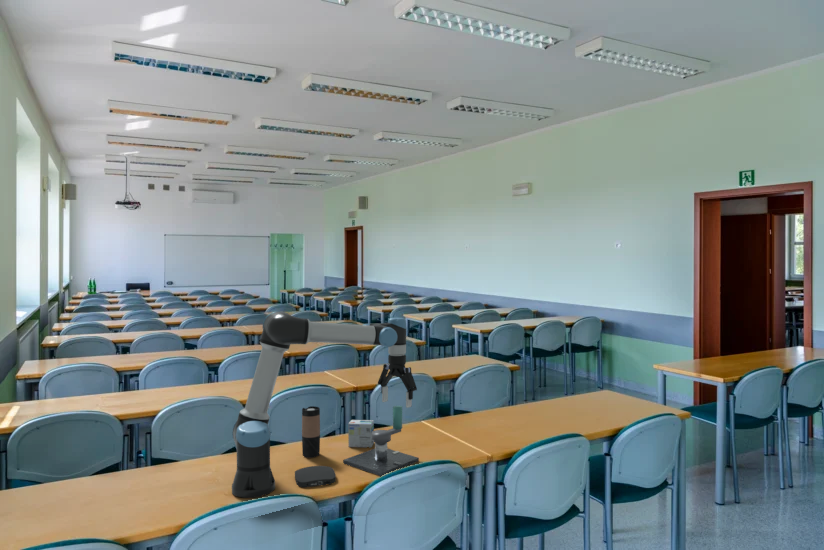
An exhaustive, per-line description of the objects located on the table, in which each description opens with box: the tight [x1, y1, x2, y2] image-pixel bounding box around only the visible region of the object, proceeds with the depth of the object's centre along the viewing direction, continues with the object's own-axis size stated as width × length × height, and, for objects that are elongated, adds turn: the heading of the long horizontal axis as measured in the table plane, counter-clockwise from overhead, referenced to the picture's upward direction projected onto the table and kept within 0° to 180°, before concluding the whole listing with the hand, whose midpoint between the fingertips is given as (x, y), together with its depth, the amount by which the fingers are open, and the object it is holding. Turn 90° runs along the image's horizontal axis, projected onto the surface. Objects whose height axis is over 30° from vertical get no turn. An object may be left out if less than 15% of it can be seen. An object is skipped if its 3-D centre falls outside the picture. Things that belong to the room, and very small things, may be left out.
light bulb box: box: [347, 419, 375, 449], centre depth 252 cm, size 11×7×11 cm, turn 84°
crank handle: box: [371, 405, 403, 444], centre depth 233 cm, size 8×16×12 cm, turn 139°
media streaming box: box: [294, 465, 337, 488], centre depth 213 cm, size 15×15×3 cm
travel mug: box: [301, 405, 321, 459], centre depth 239 cm, size 8×8×20 cm
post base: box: [342, 442, 420, 477], centre depth 230 cm, size 22×22×9 cm
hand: (396, 404), depth 237 cm, fingers open, 13 cm apart
